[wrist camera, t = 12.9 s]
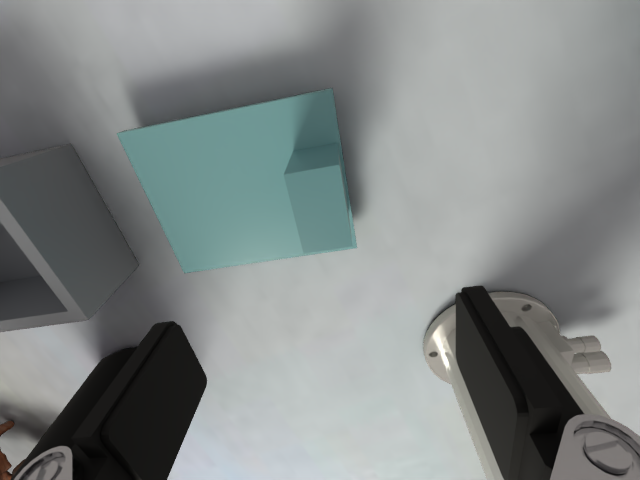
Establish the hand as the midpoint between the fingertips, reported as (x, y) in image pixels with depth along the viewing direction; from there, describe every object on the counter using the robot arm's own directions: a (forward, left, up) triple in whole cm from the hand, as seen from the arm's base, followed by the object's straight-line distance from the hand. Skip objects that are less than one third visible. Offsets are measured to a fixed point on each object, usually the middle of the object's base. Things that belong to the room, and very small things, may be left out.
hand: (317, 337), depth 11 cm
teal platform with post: (+6, -1, -16) cm, 17 cm away
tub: (+25, -1, -16) cm, 30 cm away
